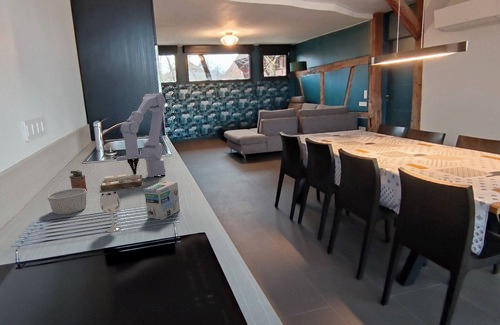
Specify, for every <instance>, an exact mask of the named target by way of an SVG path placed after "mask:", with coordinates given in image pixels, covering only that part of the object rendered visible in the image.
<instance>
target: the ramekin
mask: <svg viewBox="0 0 500 325" xmlns="http://www.w3.org/2000/svg"><path fill="white" fill-rule="evenodd" d="M87 192H88V191H87ZM87 192H86V189H82V188H75V189H72V188H68V189H61V190H59V191H58V190H57V191H54V192H52V193H50V194H48V195H47V200H48V202H49V206H50V208H51V211H52V213H53V214H55V215H59V216H60V215H61V216H62V215H71V214H75V213H78V212H79V213H80V211H83V210H84V209H85V208H86V207H87V194H88V193H87Z"/></svg>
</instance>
